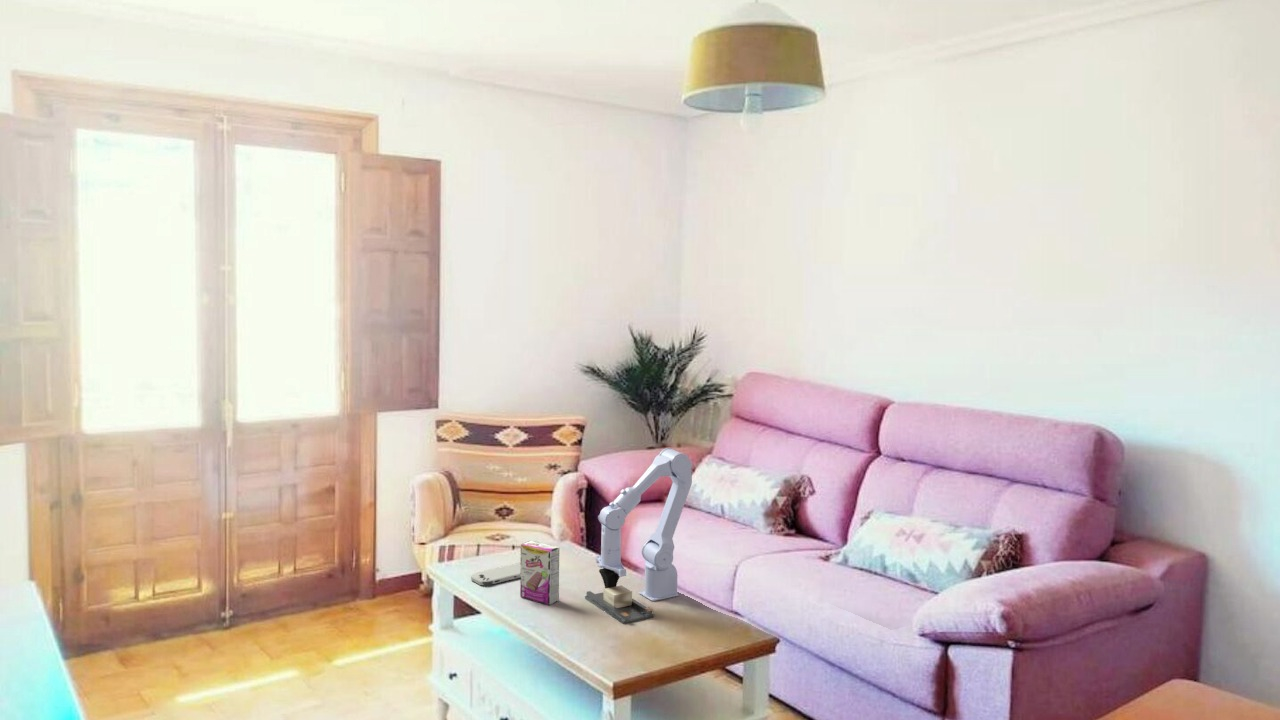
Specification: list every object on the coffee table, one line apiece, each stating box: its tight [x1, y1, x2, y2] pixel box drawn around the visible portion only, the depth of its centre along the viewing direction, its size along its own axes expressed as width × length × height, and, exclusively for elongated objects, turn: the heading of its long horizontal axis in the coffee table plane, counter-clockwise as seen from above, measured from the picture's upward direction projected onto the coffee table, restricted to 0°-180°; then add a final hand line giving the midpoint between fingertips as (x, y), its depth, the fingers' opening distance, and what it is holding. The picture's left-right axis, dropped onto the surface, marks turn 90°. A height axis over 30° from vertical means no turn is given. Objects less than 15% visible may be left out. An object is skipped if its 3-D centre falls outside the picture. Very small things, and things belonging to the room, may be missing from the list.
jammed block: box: [603, 585, 633, 608], centre depth 260 cm, size 6×6×4 cm
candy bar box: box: [519, 540, 560, 606], centre depth 264 cm, size 11×5×16 cm, turn 58°
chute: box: [584, 590, 655, 625], centre depth 259 cm, size 10×22×2 cm, turn 32°
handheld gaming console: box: [470, 561, 521, 587], centre depth 285 cm, size 23×3×10 cm
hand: (610, 593), depth 263 cm, fingers closed
